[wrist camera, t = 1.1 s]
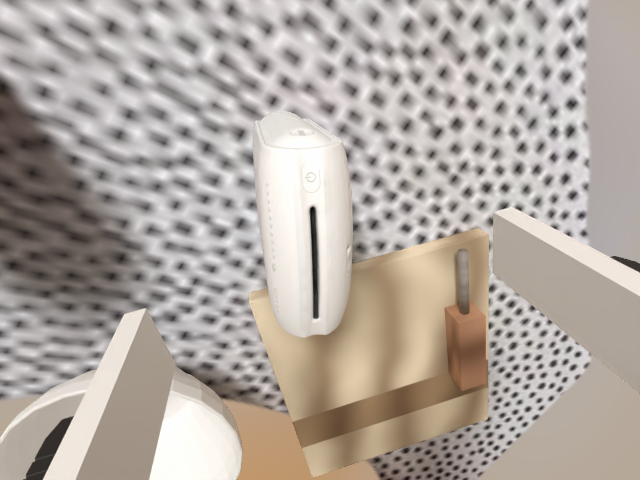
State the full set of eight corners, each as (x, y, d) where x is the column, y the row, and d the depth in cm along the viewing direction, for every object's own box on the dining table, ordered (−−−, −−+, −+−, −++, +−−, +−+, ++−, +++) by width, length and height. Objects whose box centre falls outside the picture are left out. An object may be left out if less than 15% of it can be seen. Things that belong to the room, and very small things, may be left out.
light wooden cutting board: (310, 463, 40) (312, 477, 38) (249, 293, 30) (249, 303, 28) (479, 407, 42) (487, 419, 40) (478, 227, 31) (488, 234, 30)
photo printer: (247, 110, 24) (252, 143, 13) (311, 107, 25) (369, 137, 14) (261, 251, 28) (274, 366, 17) (315, 245, 29) (362, 352, 18)
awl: (471, 364, 36) (485, 383, 34) (448, 371, 36) (461, 391, 34) (468, 240, 30) (486, 254, 28) (440, 248, 30) (456, 262, 27)
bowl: (235, 307, 30) (234, 370, 24) (247, 441, 37) (249, 517, 30) (13, 328, 27) (-55, 406, 21) (70, 469, 34) (31, 560, 27)
